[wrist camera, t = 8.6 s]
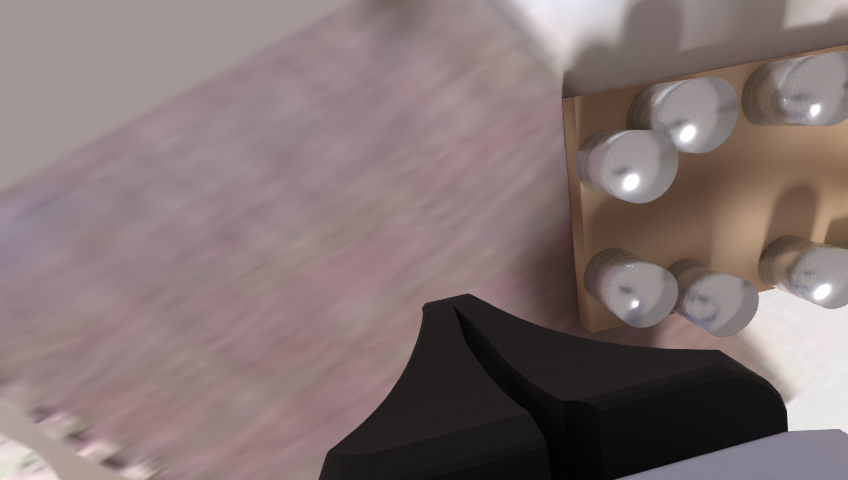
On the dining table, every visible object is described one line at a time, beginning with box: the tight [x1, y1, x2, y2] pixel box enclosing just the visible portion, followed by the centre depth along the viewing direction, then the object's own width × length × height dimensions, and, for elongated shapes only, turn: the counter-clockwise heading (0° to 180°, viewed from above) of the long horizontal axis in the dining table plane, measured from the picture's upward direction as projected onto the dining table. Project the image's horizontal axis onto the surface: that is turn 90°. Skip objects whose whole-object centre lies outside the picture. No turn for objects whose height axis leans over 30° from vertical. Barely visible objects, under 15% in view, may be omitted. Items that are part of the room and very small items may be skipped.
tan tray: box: [562, 44, 848, 334], centre depth 21 cm, size 12×22×3 cm, turn 100°
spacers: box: [575, 51, 848, 337], centre depth 20 cm, size 12×13×3 cm
